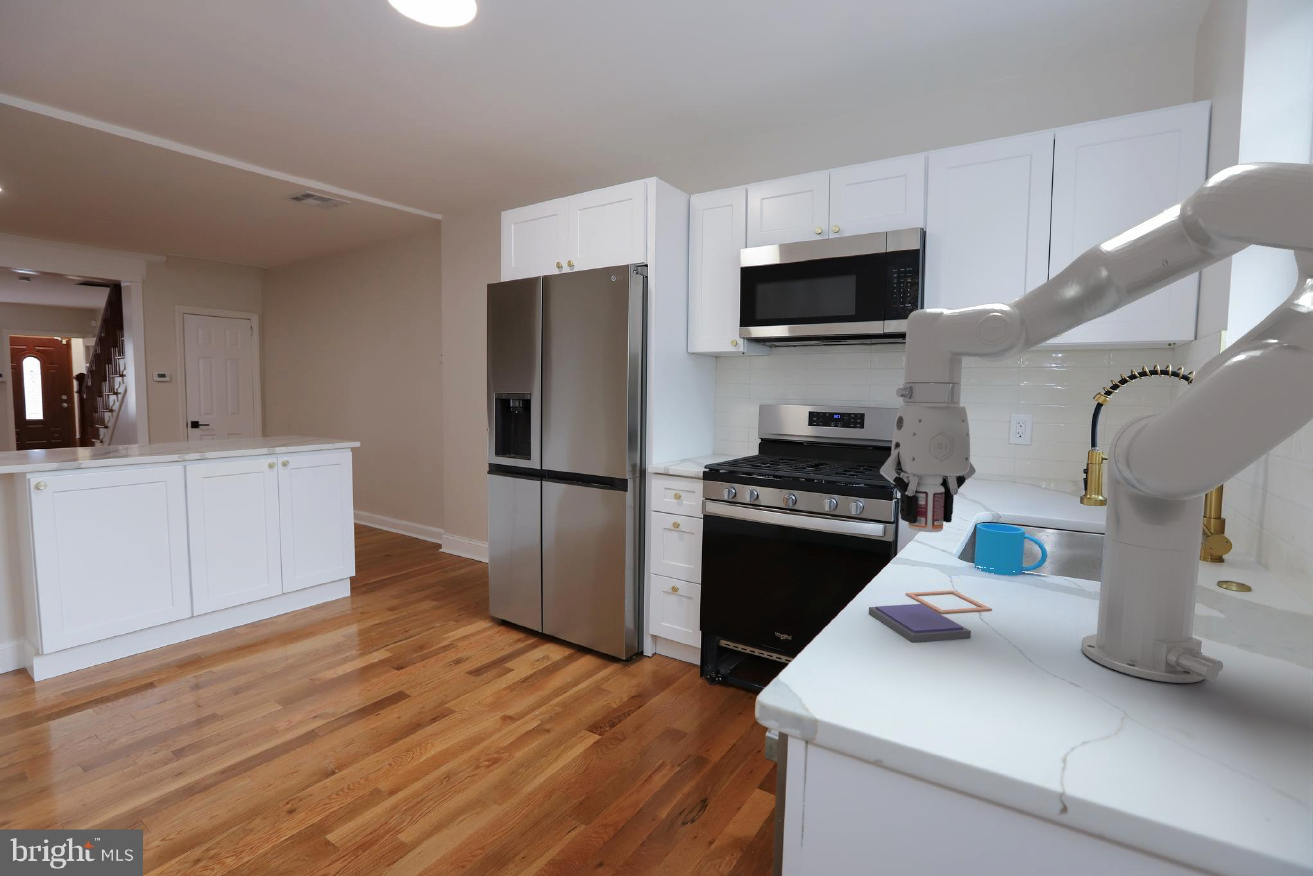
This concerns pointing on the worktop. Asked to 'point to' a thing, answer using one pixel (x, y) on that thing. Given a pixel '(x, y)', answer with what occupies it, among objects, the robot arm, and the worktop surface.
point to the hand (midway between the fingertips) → (925, 519)
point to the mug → (1003, 549)
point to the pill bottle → (929, 504)
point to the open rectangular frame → (982, 608)
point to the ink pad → (919, 623)
